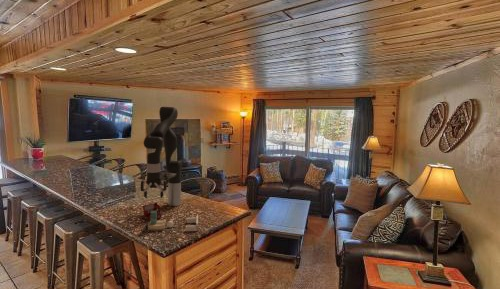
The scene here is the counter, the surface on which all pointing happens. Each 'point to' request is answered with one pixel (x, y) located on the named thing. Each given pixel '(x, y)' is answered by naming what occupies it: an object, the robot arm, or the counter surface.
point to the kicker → (156, 222)
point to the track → (157, 230)
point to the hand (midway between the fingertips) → (153, 197)
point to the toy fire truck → (150, 208)
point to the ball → (170, 223)
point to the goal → (192, 227)
